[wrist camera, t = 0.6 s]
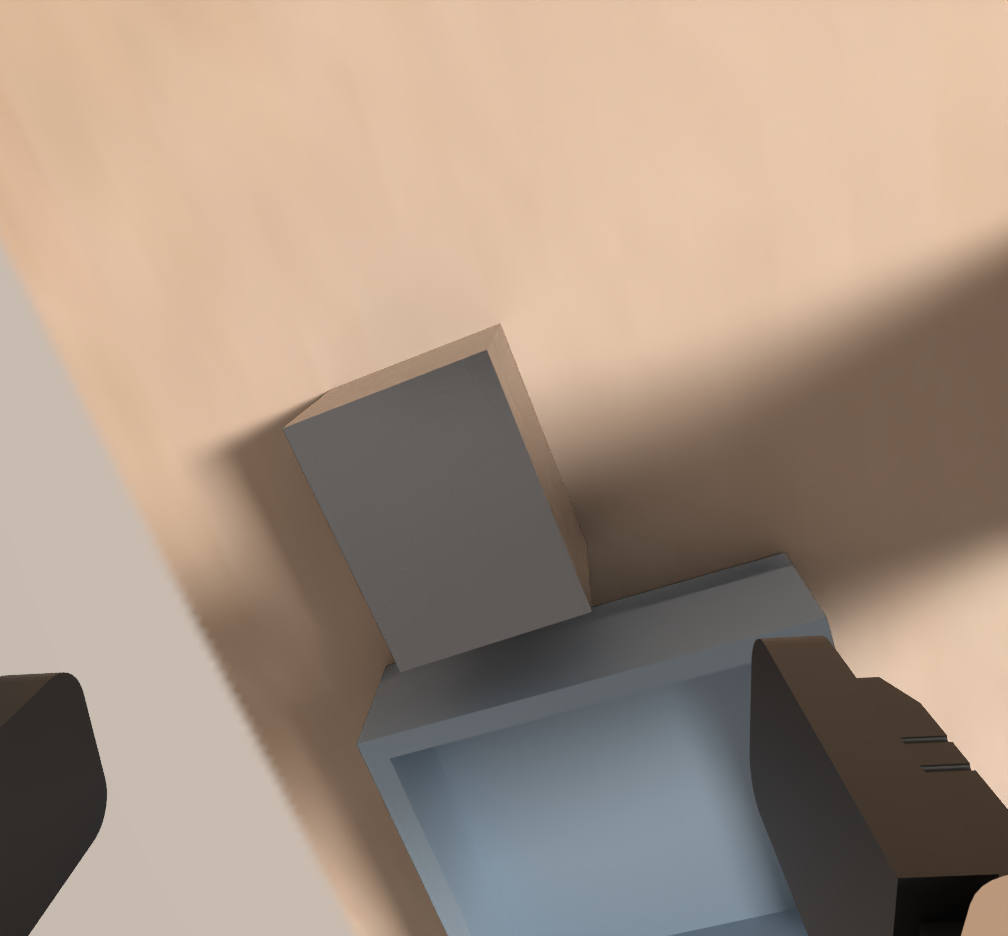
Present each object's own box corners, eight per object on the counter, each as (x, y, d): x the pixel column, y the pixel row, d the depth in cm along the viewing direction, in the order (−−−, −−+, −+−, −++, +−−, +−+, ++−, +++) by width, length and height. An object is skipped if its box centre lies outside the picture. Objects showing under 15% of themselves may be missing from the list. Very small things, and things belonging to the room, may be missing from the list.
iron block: (500, 322, 26) (486, 349, 21) (586, 542, 28) (592, 611, 23) (332, 388, 27) (281, 428, 22) (427, 595, 29) (400, 672, 24)
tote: (784, 552, 27) (826, 617, 23) (877, 884, 31) (928, 993, 27) (385, 666, 29) (356, 743, 25) (518, 961, 33) (512, 1072, 29)
